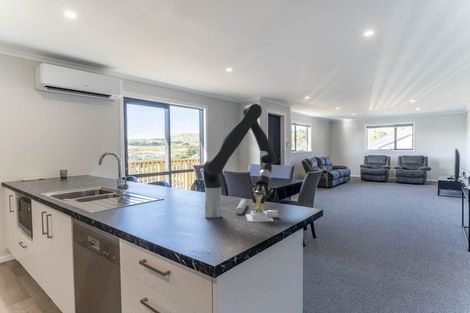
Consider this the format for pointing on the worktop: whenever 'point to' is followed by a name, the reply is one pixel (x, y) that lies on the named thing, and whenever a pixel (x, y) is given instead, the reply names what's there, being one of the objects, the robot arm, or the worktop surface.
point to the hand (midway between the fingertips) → (258, 202)
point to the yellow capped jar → (258, 200)
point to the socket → (262, 216)
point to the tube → (241, 206)
